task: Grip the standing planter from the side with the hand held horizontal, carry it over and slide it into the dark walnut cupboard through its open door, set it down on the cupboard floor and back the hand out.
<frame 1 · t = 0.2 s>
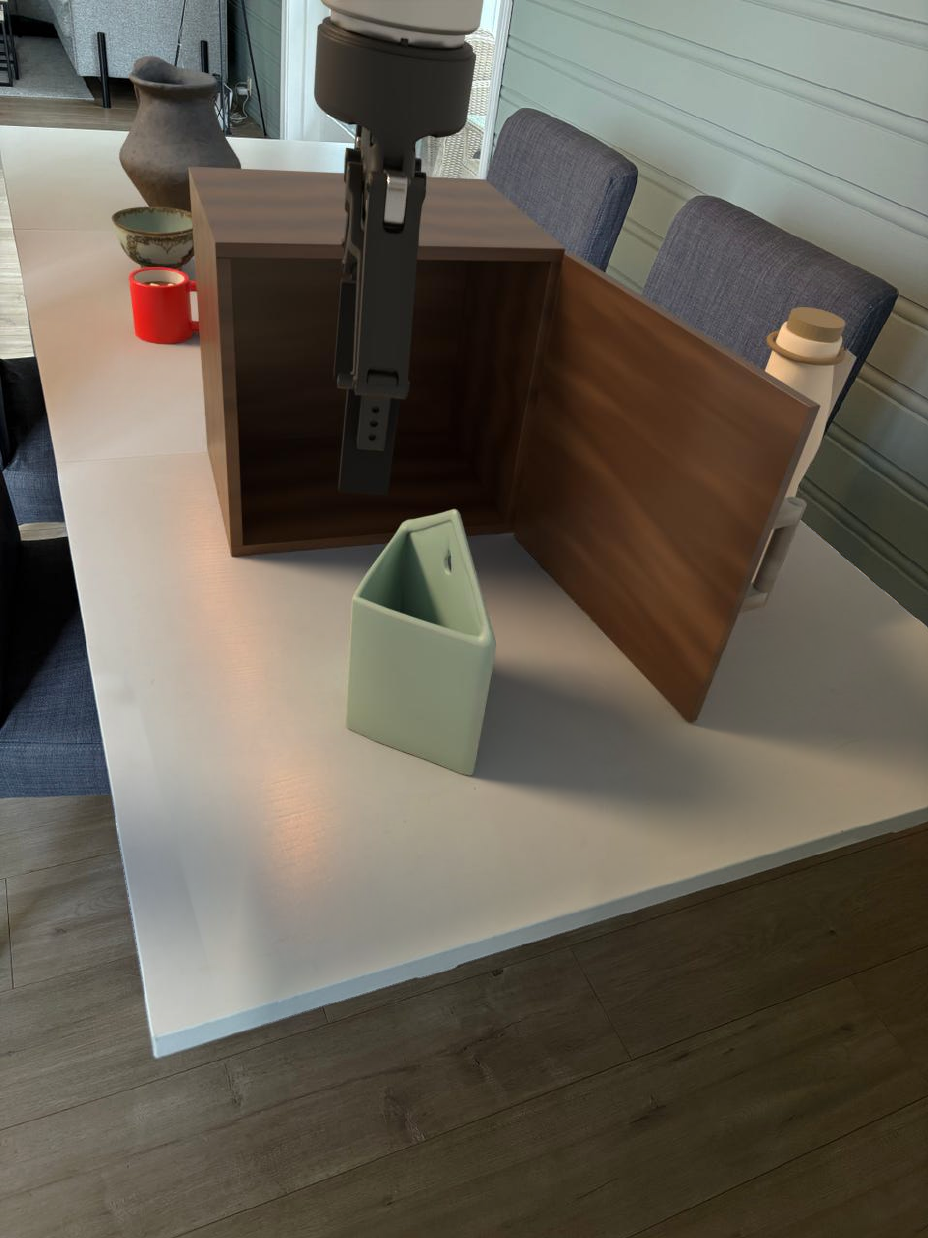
hand: (358, 429, 56), 28 cm above the table, tool pointing down, fingers open, 13 cm apart
planter: (390, 717, 76), on the table
mug: (179, 334, 130), on the table
pitcher: (183, 220, 169), on the table
water bottle: (728, 566, 100), on the table
bowl: (161, 270, 148), on the table
teapot: (376, 283, 156), on the table
cupboard door: (656, 480, 82), point 15 cm above the table, hinge at 100.0°
cupboard: (356, 488, 103), on the table
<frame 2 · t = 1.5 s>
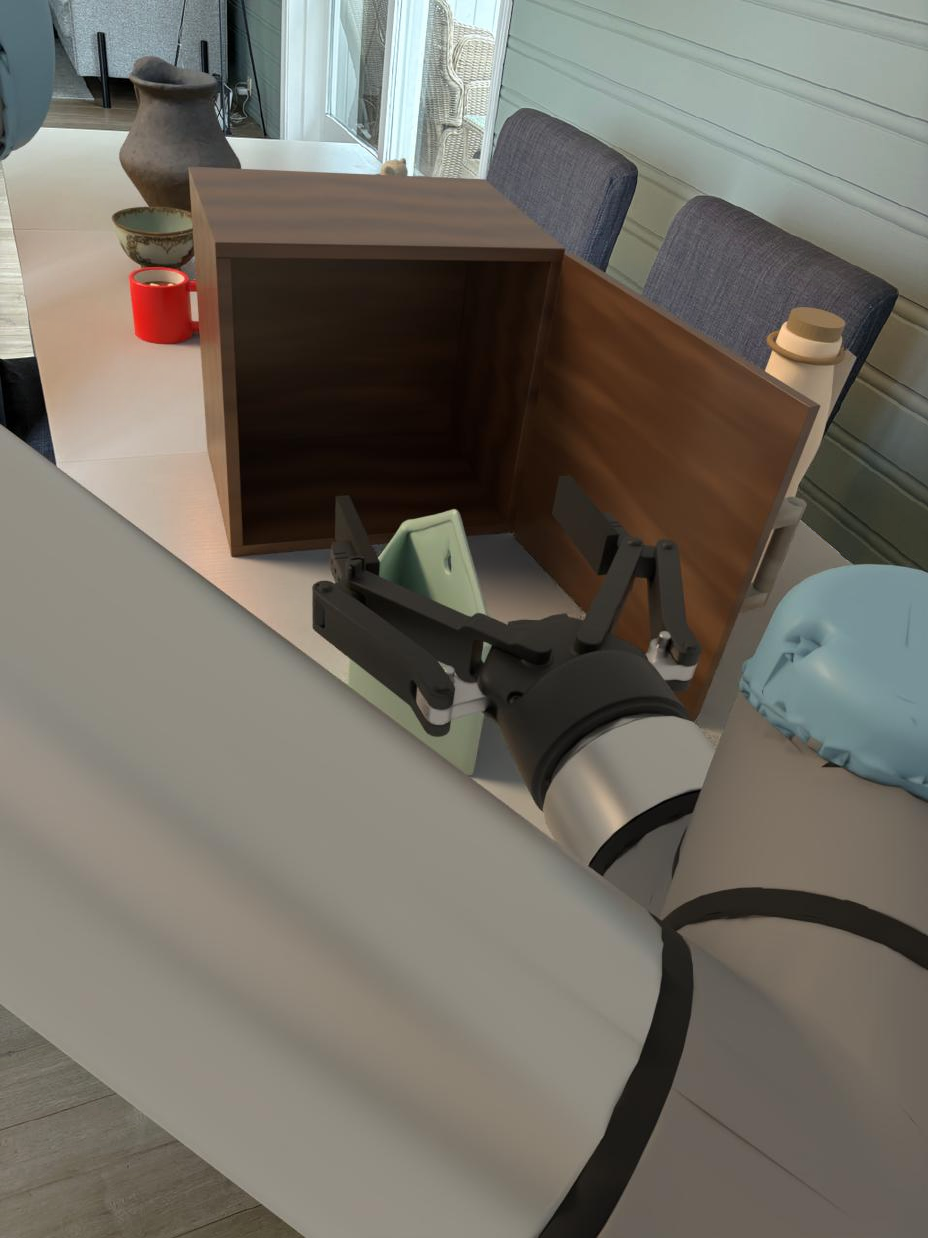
hand: (455, 504, 53), 26 cm above the table, tool horizontal, fingers open, 13 cm apart
nothing on the table moved.
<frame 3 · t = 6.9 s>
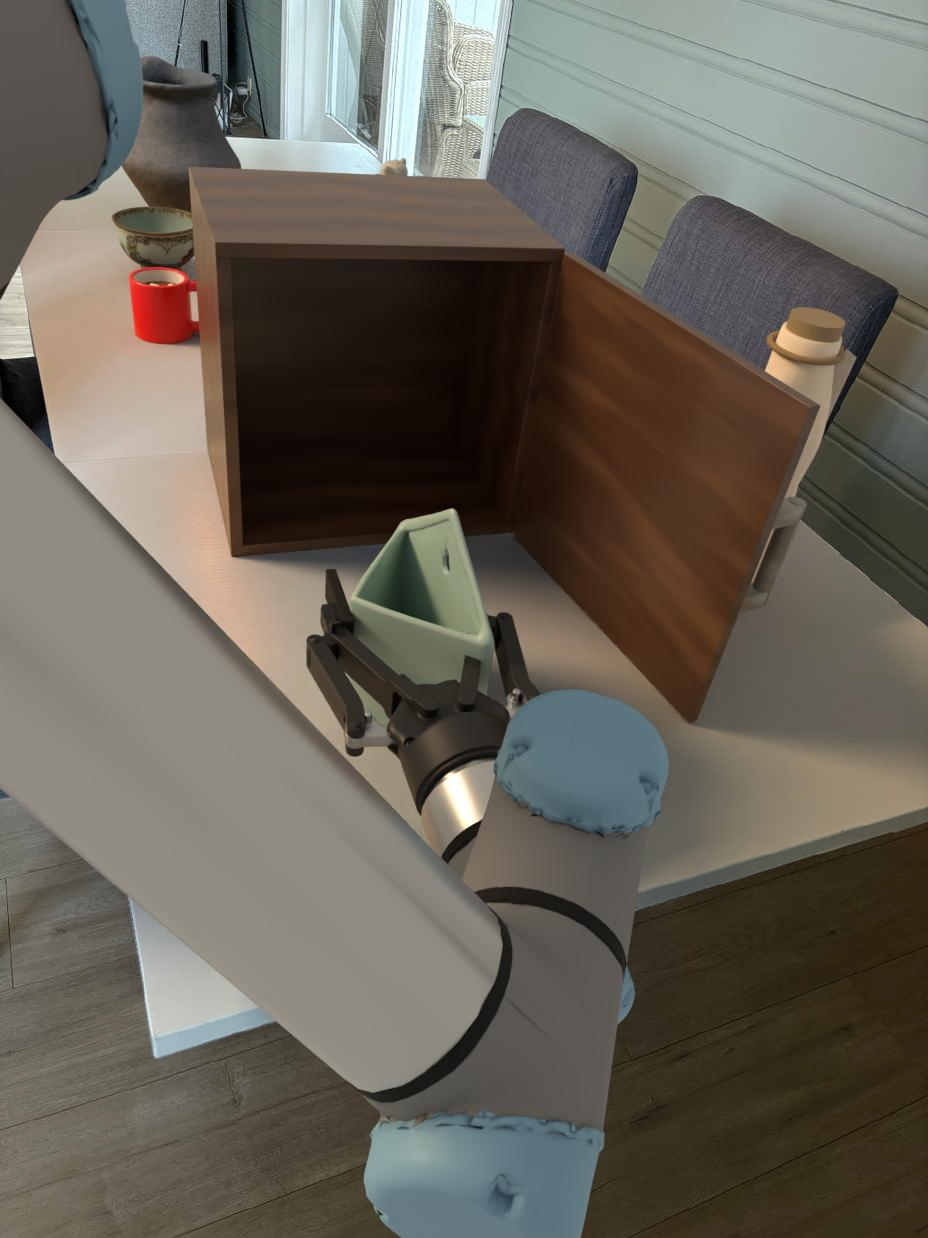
hand: (385, 577, 73), 11 cm above the table, tool horizontal, fingers closed on planter, 8 cm apart
planter: (390, 717, 76), on the table, touching gripper
everything else where it was.
when the fingers open (12 cm above the table, at t = 18.4 s): planter stays where it is, resting on cupboard.
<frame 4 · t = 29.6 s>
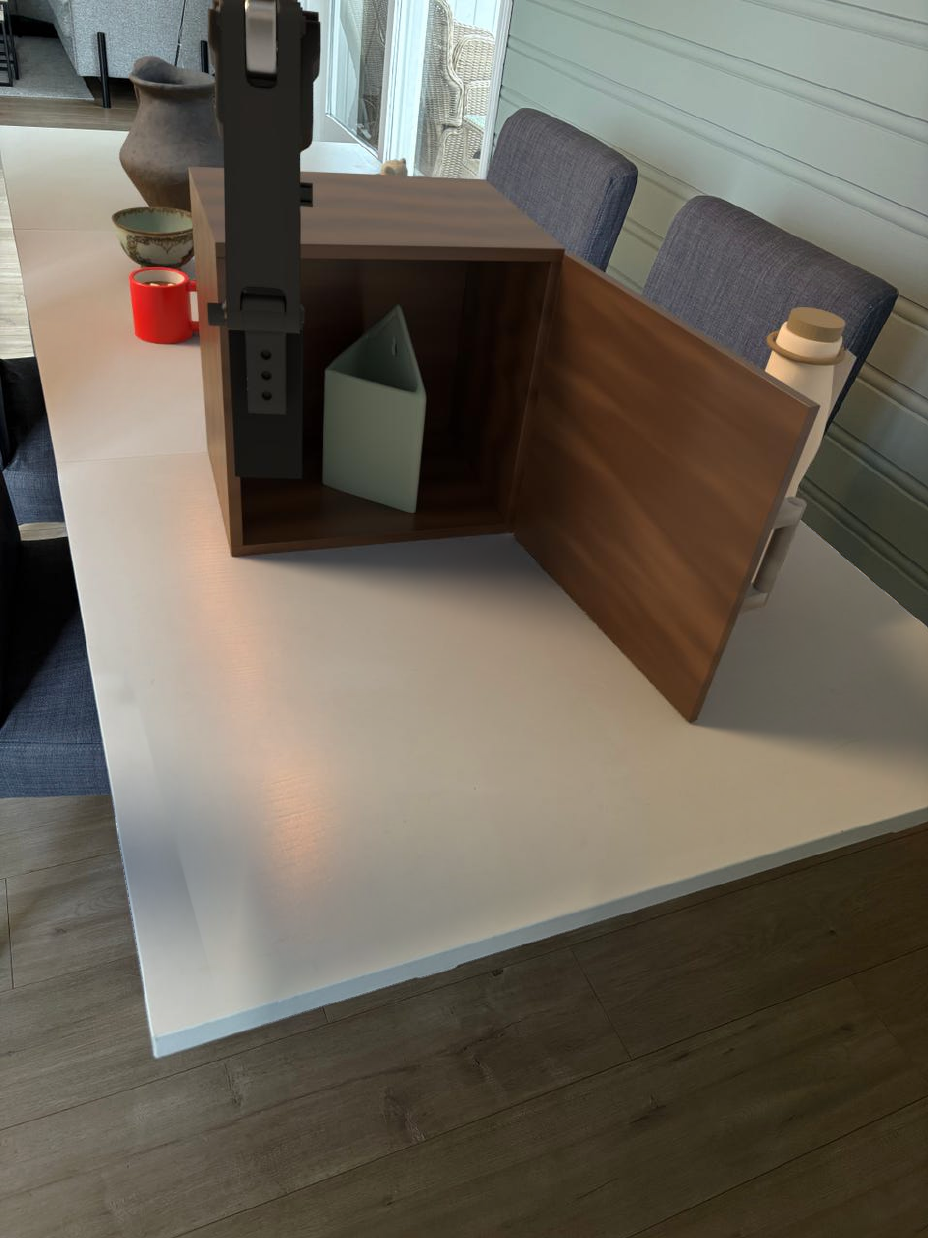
hand: (271, 399, 43), 35 cm above the table, tool pointing down, fingers open, 13 cm apart
planter: (356, 480, 103), point 1 cm above the table, touching cupboard
everything else where it was.
at the end: planter inside the target area in the cupboard (0.0 cm from its centre), point 1.0 cm above the cupboard's base; planter tilted 0°; the gripper is holding nothing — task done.
